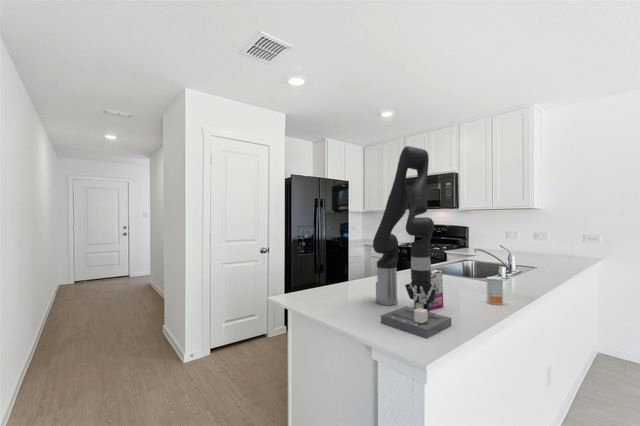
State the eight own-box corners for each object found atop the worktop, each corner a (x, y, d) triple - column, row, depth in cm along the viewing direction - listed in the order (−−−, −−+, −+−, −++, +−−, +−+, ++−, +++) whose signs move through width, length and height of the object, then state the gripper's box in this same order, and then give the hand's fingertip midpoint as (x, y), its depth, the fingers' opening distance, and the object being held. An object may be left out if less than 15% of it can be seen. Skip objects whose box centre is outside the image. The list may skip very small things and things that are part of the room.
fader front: (414, 321, 110) (414, 310, 110) (420, 318, 112) (420, 307, 112) (421, 323, 108) (421, 312, 108) (427, 320, 110) (427, 309, 110)
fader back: (415, 313, 119) (415, 303, 119) (421, 311, 121) (421, 300, 121) (422, 315, 116) (422, 304, 116) (428, 312, 119) (427, 302, 119)
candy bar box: (435, 304, 141) (434, 269, 141) (443, 307, 137) (442, 271, 137) (417, 308, 136) (416, 271, 136) (426, 311, 132) (425, 273, 132)
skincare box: (488, 304, 140) (487, 278, 140) (487, 301, 144) (486, 276, 144) (503, 305, 137) (502, 279, 138) (501, 302, 141) (501, 277, 141)
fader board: (380, 322, 119) (380, 315, 119) (406, 313, 130) (406, 306, 130) (427, 338, 103) (426, 329, 103) (451, 325, 114) (451, 317, 114)
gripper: (442, 268, 116) (443, 313, 116) (410, 264, 127) (411, 305, 127) (432, 271, 111) (433, 318, 111) (400, 267, 122) (401, 309, 122)
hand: (421, 311), depth 119 cm, fingers closed on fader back, 3 cm apart
